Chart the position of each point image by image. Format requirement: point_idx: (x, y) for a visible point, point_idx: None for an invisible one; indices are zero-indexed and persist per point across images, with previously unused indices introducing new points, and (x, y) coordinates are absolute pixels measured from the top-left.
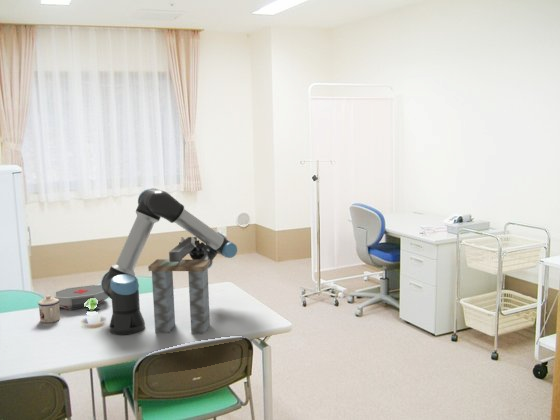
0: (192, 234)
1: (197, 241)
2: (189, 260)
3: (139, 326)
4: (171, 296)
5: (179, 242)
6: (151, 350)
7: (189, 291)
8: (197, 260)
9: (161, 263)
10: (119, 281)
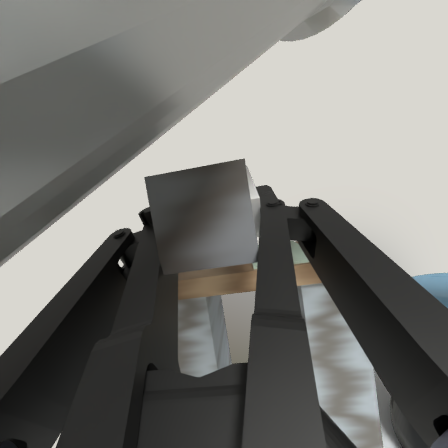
0: (187, 114)
1: None
2: (219, 270)
3: (391, 412)
4: None
5: (316, 200)
6: None
7: (224, 321)
8: (187, 274)
9: (298, 244)
10: (434, 276)
